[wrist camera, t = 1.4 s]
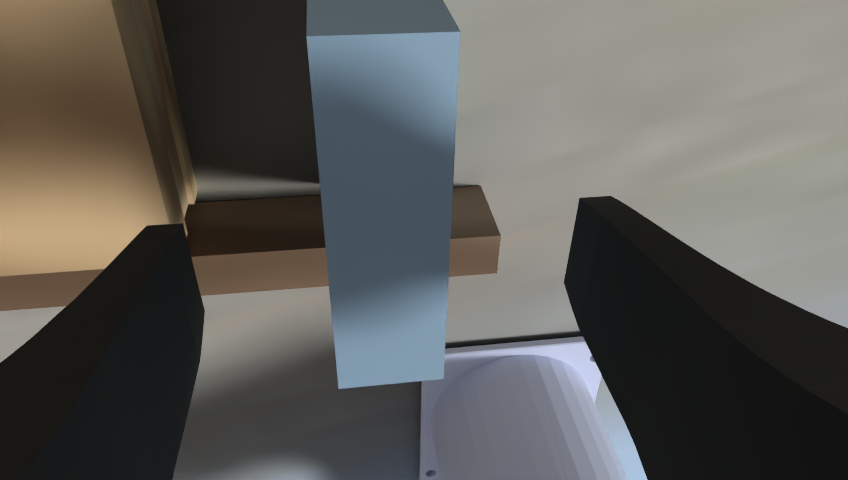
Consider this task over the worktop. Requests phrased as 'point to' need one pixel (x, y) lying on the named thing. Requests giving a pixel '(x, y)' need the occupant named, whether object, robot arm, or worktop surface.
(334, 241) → the panel
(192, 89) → the worktop surface
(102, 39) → the offcut top
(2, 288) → the rack
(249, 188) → the worktop surface
